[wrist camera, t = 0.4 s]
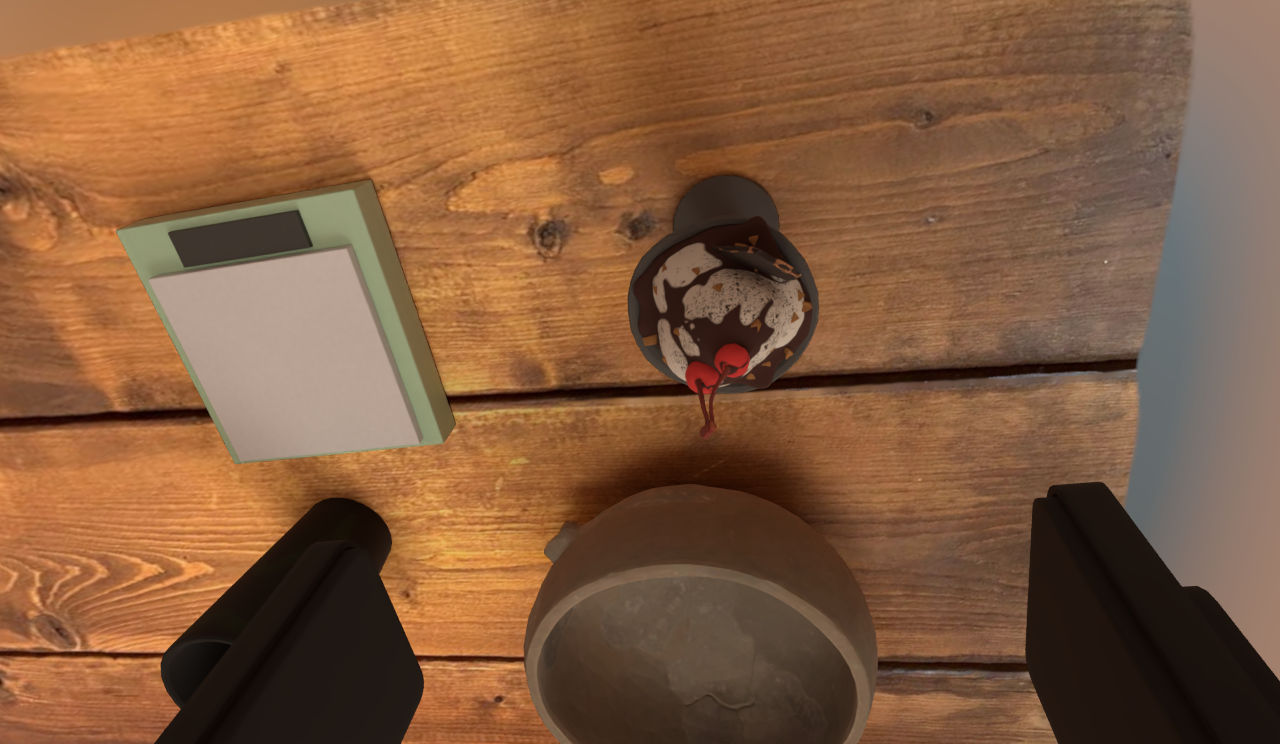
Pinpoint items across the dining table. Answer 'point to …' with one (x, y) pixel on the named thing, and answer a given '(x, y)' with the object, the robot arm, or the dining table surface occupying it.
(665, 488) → the bowl
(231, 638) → the cup
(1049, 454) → the dining table surface
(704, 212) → the sundae
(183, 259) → the scale
